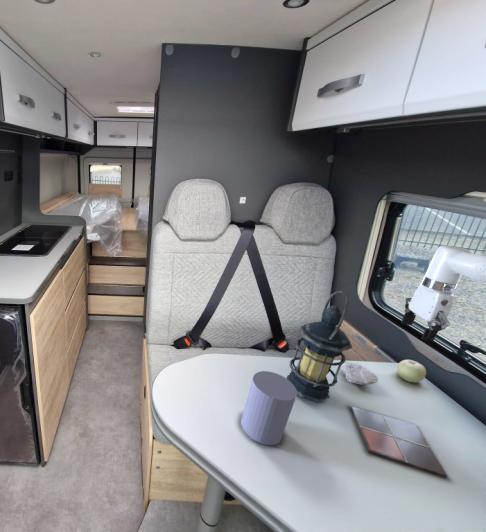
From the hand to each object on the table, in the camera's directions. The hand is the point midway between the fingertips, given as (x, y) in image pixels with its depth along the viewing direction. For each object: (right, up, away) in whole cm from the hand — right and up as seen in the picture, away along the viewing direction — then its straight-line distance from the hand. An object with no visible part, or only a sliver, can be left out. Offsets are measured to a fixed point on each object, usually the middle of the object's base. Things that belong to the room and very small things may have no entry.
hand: (416, 331), depth 102 cm
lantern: (-39, -18, -4) cm, 44 cm away
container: (-60, -22, -19) cm, 67 cm away
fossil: (-18, -18, +3) cm, 25 cm away
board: (-24, -25, -19) cm, 40 cm away
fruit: (+3, -18, +6) cm, 19 cm away
